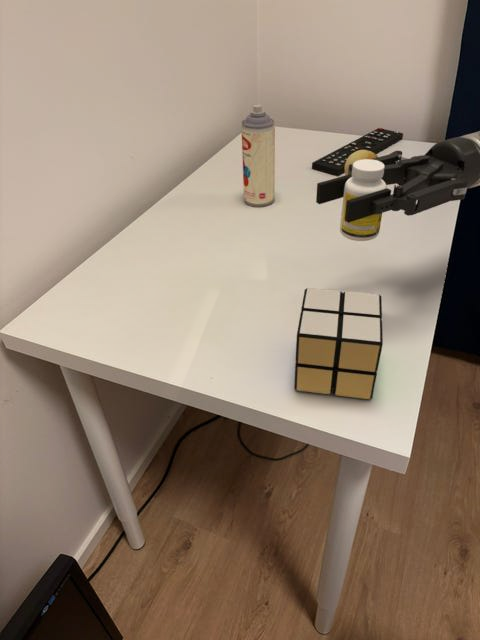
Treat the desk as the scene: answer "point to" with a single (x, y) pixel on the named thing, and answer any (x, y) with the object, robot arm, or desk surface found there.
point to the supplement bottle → (362, 184)
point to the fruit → (358, 158)
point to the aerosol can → (258, 158)
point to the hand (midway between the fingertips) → (332, 202)
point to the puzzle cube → (338, 343)
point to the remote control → (369, 142)
